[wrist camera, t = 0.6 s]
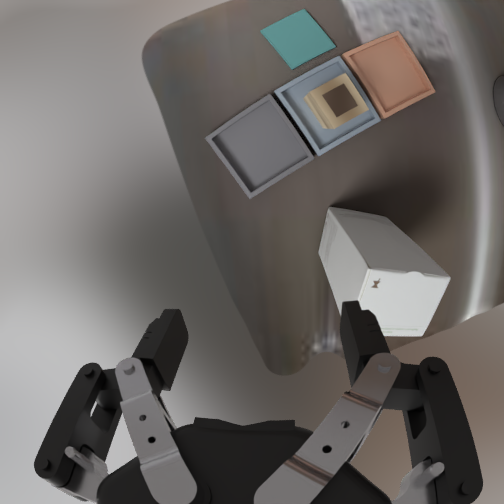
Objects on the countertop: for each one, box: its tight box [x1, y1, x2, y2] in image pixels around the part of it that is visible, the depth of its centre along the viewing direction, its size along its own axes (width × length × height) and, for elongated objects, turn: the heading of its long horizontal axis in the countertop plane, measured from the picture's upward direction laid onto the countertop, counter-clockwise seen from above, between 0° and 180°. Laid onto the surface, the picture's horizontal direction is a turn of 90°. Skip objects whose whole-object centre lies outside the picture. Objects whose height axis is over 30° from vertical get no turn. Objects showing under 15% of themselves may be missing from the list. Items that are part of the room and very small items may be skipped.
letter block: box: [303, 73, 369, 129], centre depth 23 cm, size 4×4×6 cm
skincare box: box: [319, 207, 450, 336], centre depth 26 cm, size 8×7×16 cm
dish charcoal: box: [205, 94, 315, 199], centre depth 29 cm, size 8×8×2 cm
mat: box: [260, 9, 336, 70], centre depth 23 cm, size 6×6×1 cm
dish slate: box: [274, 56, 381, 156], centre depth 26 cm, size 8×8×2 cm
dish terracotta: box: [340, 31, 435, 119], centre depth 23 cm, size 8×8×2 cm
